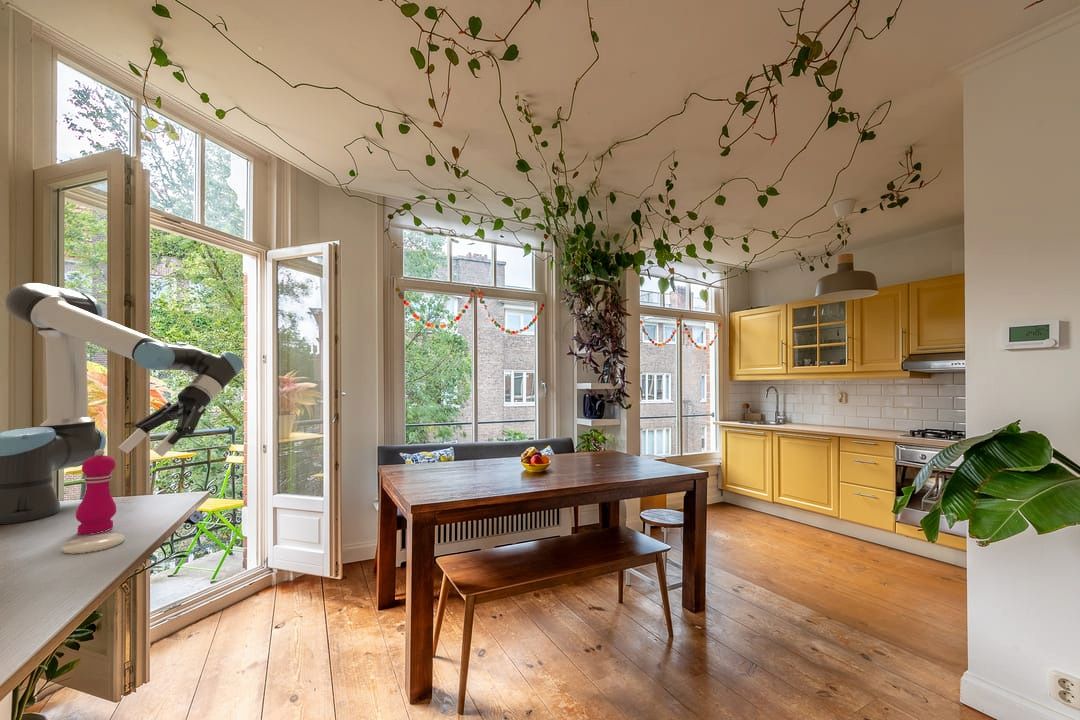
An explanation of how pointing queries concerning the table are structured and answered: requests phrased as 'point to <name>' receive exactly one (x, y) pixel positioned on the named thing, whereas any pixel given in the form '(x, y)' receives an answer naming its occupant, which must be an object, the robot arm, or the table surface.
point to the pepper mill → (96, 495)
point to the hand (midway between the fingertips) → (140, 451)
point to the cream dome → (93, 543)
